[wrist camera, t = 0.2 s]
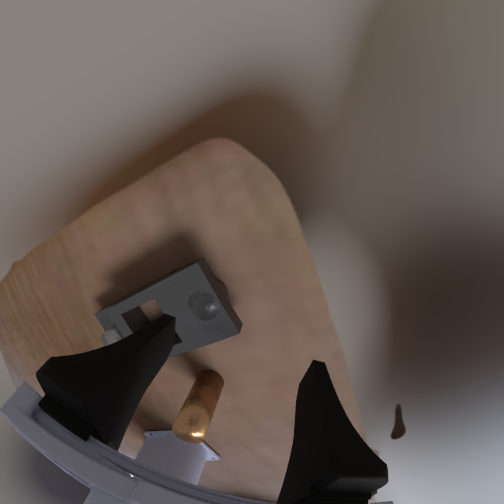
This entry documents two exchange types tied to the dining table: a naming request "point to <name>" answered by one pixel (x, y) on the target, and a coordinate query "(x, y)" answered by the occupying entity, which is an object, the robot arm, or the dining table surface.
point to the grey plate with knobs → (177, 309)
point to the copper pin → (198, 407)
